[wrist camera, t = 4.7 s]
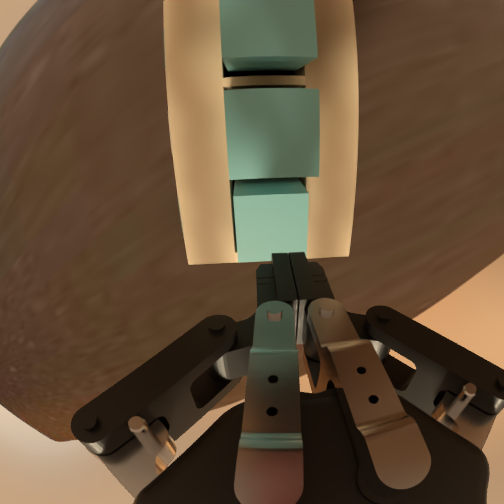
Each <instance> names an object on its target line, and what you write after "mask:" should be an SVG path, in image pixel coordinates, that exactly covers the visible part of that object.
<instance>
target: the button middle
mask: <svg viewBox="0 0 504 504" xmlns="http://www.w3.org/2000/svg"><path fill="white" fill-rule="evenodd" d="M224 106H225V122H226V138H227V153H228V167H229V180H239V179H259V178H286V177H319V164H320V105H319V89H309V88H255V89H235V90H224Z"/></svg>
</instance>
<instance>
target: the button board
mask: <svg viewBox="0 0 504 504" xmlns="http://www.w3.org/2000/svg"><path fill="white" fill-rule="evenodd" d="M314 8H315V20H316V34H317V50H318V58H316V59H315V60H313V61H311V62H310V63H308V64H306V65H305V66H303V67H301V68H300V69H298V70H296V71H294V76H284V75H273V76H241V77H226V66H225V64H224V62H223V60H222V51H221V30H220V7H219V0H165V1H164V28H163V38H164V62H165V69H166V84H167V98H168V119H169V130H170V140H171V149H172V155H173V161H174V169H175V177H176V185H177V193H178V205H179V212H180V219H181V225H182V232H183V237H184V240H185V246H186V252H187V258H188V264H189V265H191V264H212V263H232V262H238V253H237V241H236V227H235V214H234V200H233V194H234V193H233V180H229V167H228V153H227V138H226V122H225V106H224V90H235V89H255V88H309V89H319V105H320V164H319V177H298V178H299V180H300V181H301V183H302V184H303V186H304V187H305V188H306V190H307V191H308V193H309V208H308V236H307V257H306V258H324V257H341V256H349V250H350V241H351V233H352V223H353V213H354V201H355V188H356V173H357V153H358V63H357V45H356V31H355V20H354V10H353V1H352V0H314Z"/></svg>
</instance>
